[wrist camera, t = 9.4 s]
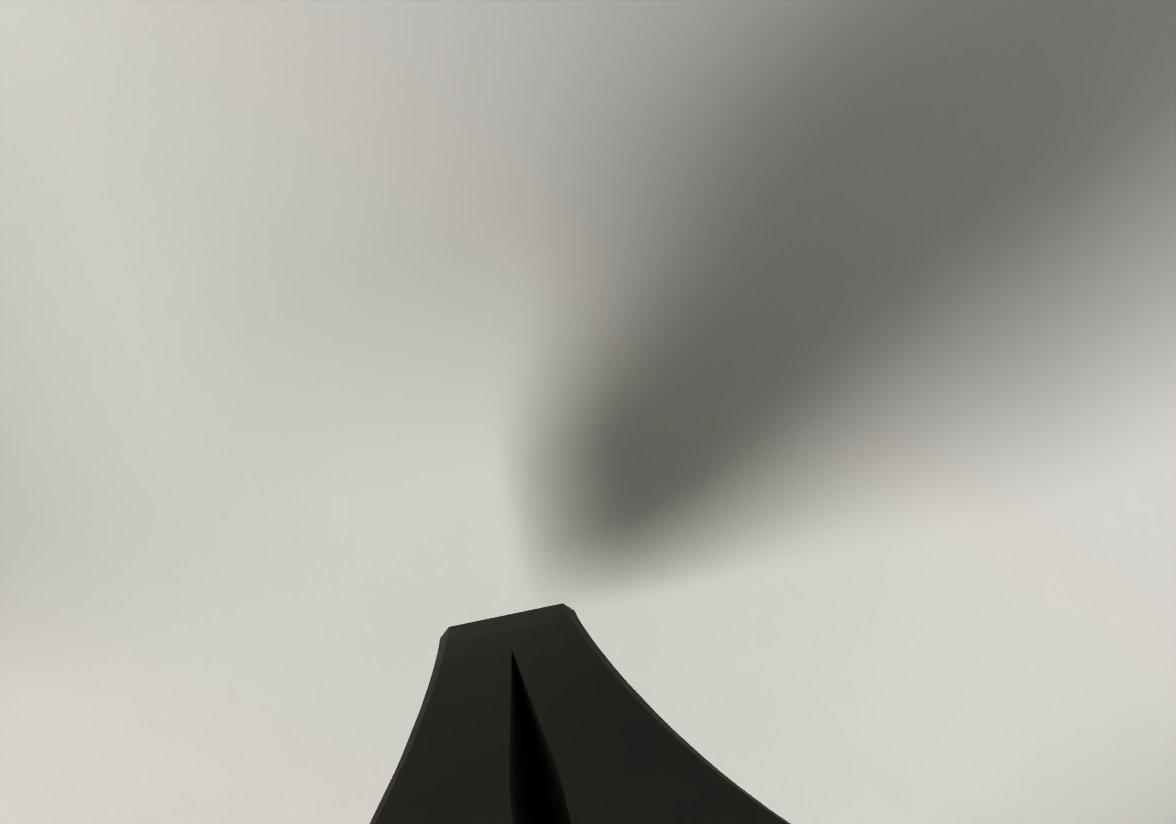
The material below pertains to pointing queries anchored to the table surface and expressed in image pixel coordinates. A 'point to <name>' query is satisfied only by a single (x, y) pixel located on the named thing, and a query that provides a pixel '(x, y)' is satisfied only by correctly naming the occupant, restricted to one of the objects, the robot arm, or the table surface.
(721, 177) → the table surface
